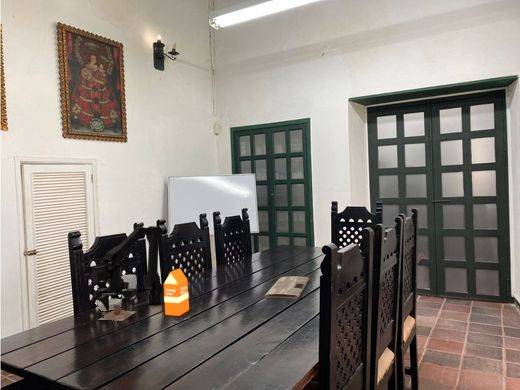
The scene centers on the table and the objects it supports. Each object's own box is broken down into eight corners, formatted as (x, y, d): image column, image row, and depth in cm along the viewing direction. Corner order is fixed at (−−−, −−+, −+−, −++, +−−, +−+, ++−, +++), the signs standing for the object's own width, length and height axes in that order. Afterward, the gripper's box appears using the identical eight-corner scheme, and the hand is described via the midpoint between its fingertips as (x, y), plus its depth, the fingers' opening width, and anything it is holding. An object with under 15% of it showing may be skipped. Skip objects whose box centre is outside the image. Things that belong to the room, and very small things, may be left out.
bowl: (124, 305, 199) (123, 298, 199) (113, 312, 190) (112, 305, 189) (106, 305, 201) (106, 298, 201) (94, 311, 192) (94, 304, 191)
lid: (134, 311, 188) (134, 301, 188) (122, 320, 176) (121, 309, 176) (113, 311, 190) (112, 301, 190) (98, 319, 178) (98, 309, 178)
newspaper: (298, 299, 196) (298, 294, 196) (261, 298, 201) (261, 293, 201) (309, 281, 232) (308, 276, 232) (277, 280, 237) (277, 276, 237)
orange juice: (165, 314, 182) (162, 272, 181) (175, 308, 190) (173, 267, 190) (179, 315, 179) (177, 272, 179) (189, 309, 188) (187, 268, 187)
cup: (132, 301, 207) (130, 278, 207) (116, 300, 209) (115, 278, 209) (140, 296, 216) (139, 274, 216) (125, 295, 218) (124, 274, 217)
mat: (135, 312, 188) (135, 311, 188) (122, 321, 176) (122, 320, 176) (112, 311, 190) (112, 311, 190) (98, 320, 178) (98, 319, 178)
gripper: (141, 273, 189) (143, 305, 189) (106, 273, 192) (108, 305, 193) (129, 279, 178) (132, 313, 178) (93, 279, 181) (95, 312, 182)
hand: (117, 310), depth 183 cm, fingers open, 9 cm apart
